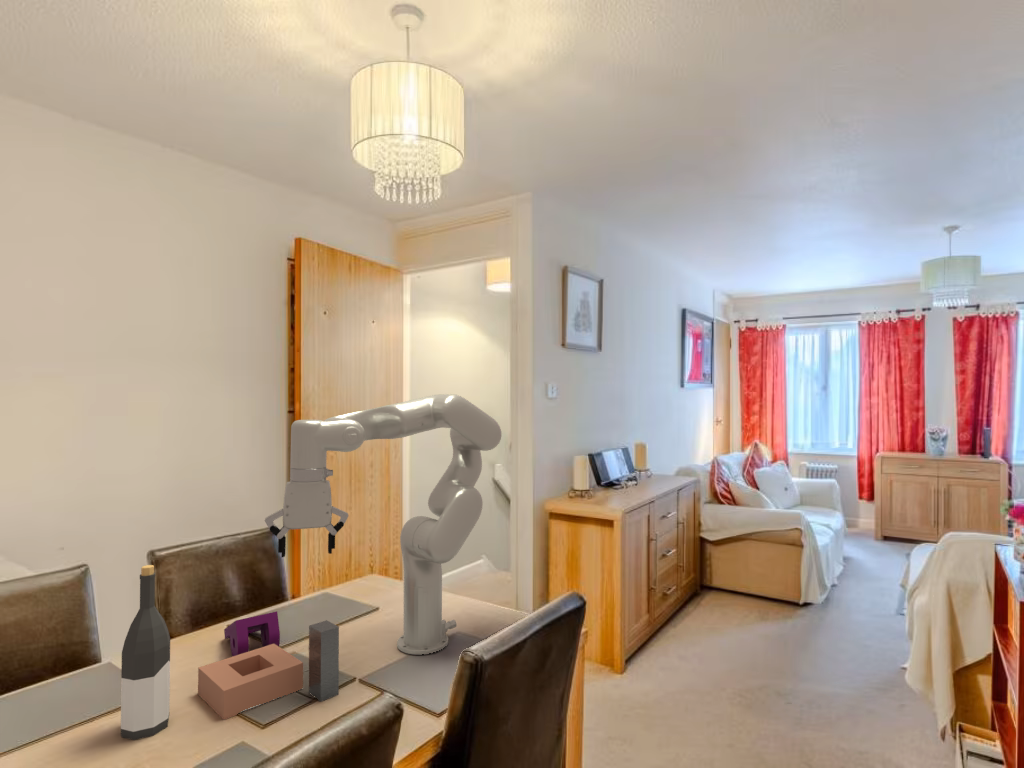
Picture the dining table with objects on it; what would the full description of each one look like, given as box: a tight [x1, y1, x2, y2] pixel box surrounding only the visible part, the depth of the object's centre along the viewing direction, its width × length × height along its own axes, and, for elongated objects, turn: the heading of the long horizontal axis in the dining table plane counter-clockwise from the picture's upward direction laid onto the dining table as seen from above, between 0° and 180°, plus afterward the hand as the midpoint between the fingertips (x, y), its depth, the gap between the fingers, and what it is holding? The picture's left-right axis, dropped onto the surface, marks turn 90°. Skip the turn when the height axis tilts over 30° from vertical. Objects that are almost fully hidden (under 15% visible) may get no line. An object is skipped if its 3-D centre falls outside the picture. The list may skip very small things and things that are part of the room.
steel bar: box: [308, 619, 340, 702], centre depth 120 cm, size 4×5×14 cm
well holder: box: [197, 644, 304, 721], centre depth 121 cm, size 16×14×6 cm
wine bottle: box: [120, 564, 171, 741], centre depth 108 cm, size 8×8×30 cm
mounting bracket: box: [223, 611, 281, 657], centre depth 143 cm, size 10×8×18 cm
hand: (306, 554), depth 126 cm, fingers open, 9 cm apart
